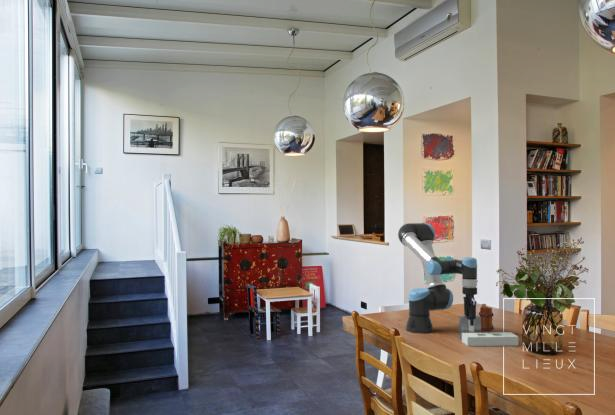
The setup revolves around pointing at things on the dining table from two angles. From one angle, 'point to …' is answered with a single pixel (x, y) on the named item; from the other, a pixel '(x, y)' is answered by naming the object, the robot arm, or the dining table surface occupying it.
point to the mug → (486, 319)
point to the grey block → (465, 325)
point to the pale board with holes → (490, 339)
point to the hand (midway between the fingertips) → (470, 330)
